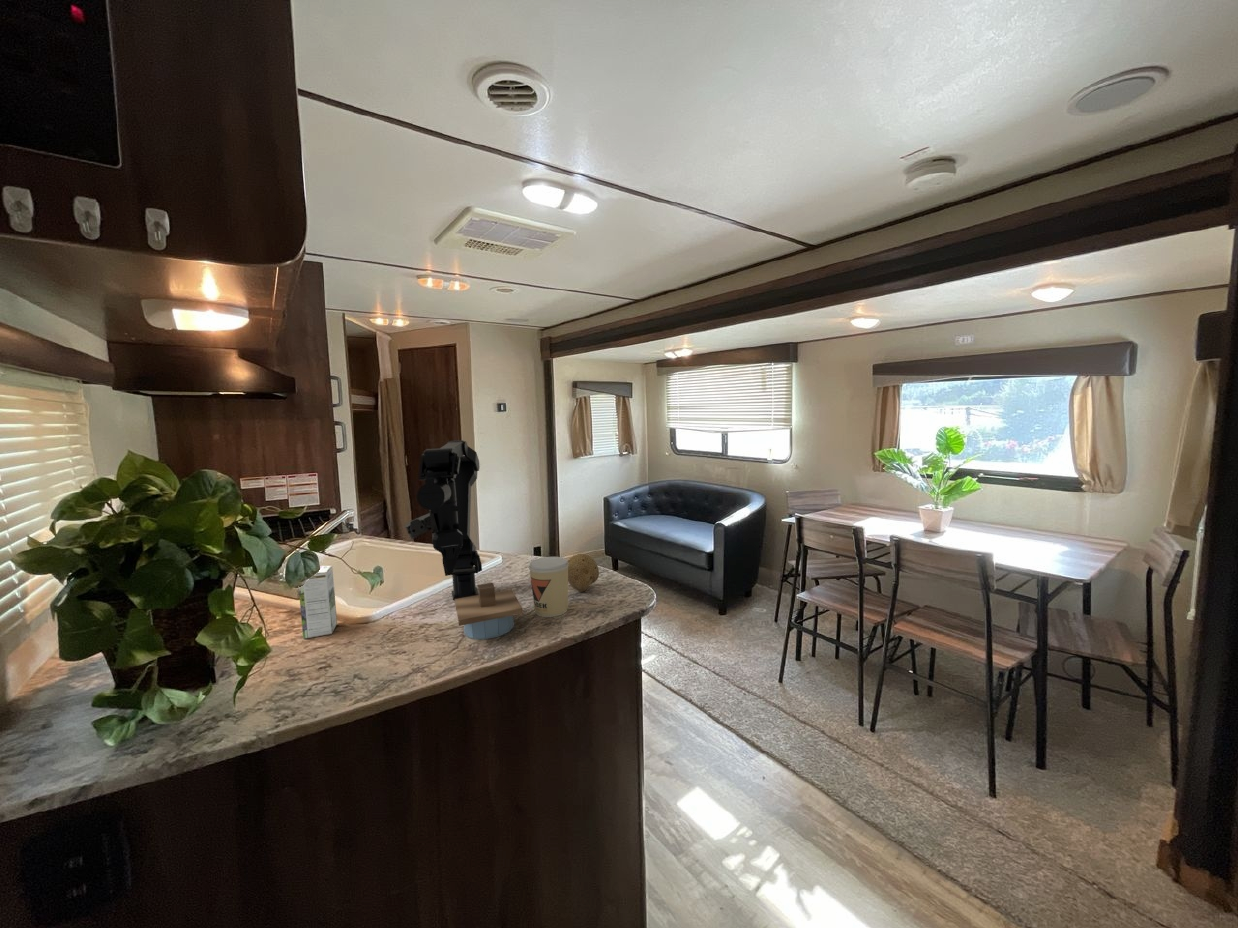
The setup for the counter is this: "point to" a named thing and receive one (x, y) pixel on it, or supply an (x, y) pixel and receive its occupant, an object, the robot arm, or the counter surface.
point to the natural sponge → (582, 571)
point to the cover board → (487, 605)
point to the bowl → (489, 628)
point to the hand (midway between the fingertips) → (448, 567)
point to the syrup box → (318, 604)
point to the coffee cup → (549, 585)
